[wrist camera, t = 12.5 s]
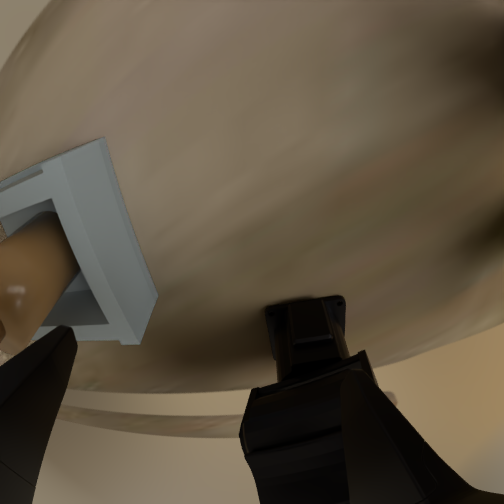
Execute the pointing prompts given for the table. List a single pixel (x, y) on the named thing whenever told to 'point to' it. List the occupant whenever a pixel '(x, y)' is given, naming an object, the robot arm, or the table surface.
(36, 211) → the u rest
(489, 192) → the table surface
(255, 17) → the table surface
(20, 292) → the amber bottle
